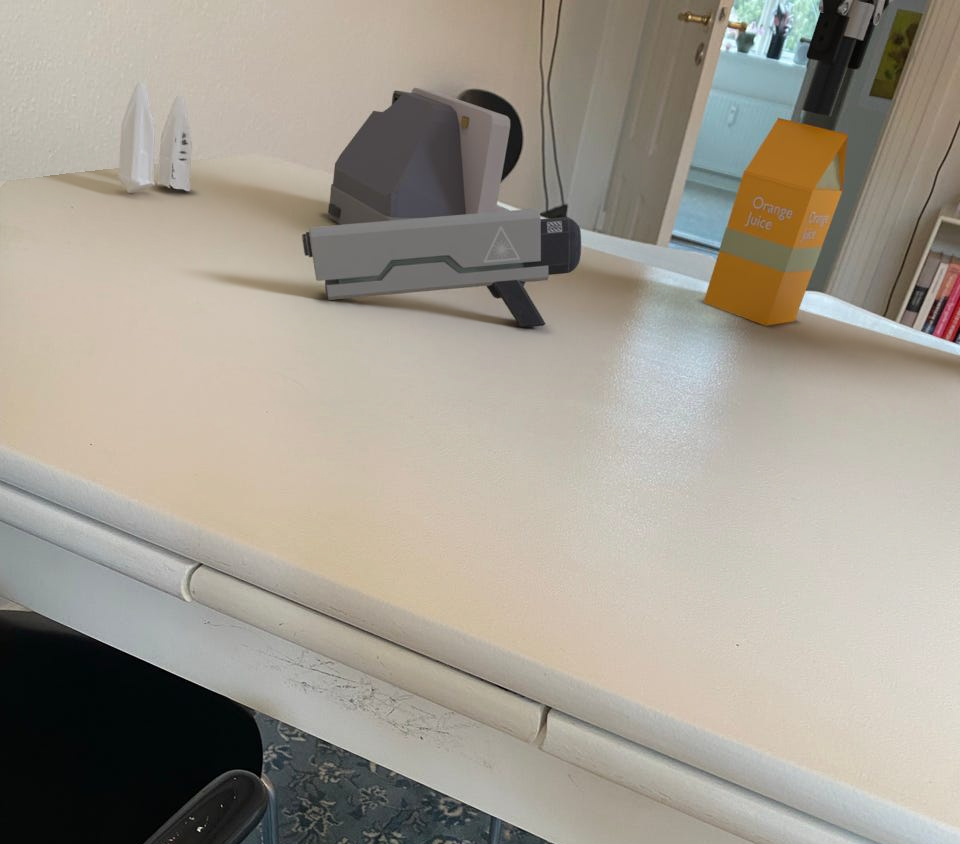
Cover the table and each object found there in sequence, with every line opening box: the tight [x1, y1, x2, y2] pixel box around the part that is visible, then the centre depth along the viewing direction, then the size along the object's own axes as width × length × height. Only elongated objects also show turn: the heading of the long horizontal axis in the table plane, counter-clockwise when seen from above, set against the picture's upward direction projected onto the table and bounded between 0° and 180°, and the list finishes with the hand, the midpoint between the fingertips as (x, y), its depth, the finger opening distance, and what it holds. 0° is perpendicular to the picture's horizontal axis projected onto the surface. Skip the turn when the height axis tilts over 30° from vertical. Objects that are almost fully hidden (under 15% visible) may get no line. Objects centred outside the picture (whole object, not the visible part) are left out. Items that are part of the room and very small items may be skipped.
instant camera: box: [327, 87, 511, 225], centre depth 107 cm, size 21×21×15 cm
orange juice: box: [702, 117, 849, 327], centre depth 104 cm, size 8×9×20 cm
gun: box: [301, 208, 582, 328], centre depth 83 cm, size 2×25×10 cm, turn 98°
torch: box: [801, 0, 875, 117], centre depth 95 cm, size 4×4×10 cm
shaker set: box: [116, 81, 193, 194], centre depth 103 cm, size 12×4×11 cm, turn 158°
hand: (833, 61), depth 95 cm, fingers closed on torch, 4 cm apart
